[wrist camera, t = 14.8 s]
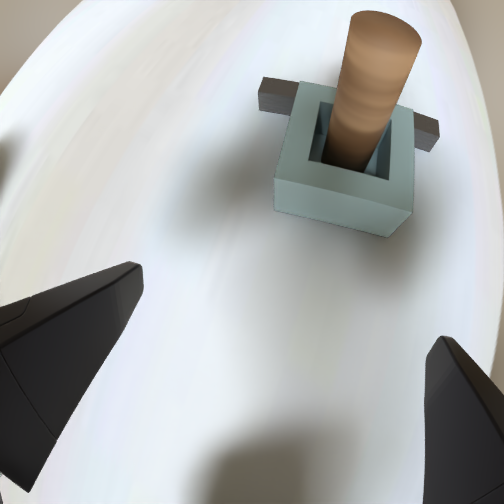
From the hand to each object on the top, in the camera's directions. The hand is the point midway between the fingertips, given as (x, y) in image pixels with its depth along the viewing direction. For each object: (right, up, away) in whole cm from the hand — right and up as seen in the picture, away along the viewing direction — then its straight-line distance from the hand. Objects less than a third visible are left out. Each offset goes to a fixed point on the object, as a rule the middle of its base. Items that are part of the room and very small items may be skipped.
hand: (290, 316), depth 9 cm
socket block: (+6, +8, +16) cm, 19 cm away
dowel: (+6, +9, +15) cm, 19 cm away
